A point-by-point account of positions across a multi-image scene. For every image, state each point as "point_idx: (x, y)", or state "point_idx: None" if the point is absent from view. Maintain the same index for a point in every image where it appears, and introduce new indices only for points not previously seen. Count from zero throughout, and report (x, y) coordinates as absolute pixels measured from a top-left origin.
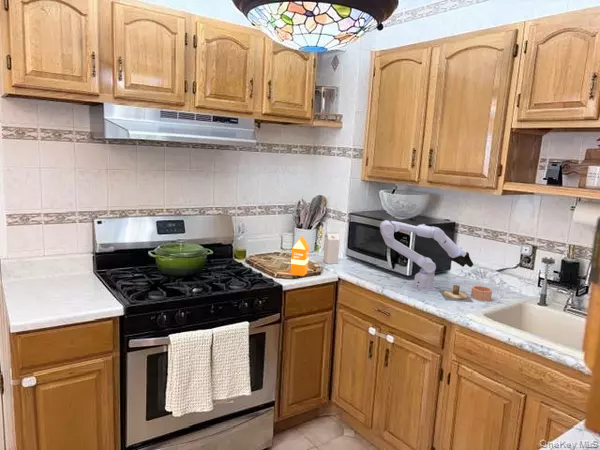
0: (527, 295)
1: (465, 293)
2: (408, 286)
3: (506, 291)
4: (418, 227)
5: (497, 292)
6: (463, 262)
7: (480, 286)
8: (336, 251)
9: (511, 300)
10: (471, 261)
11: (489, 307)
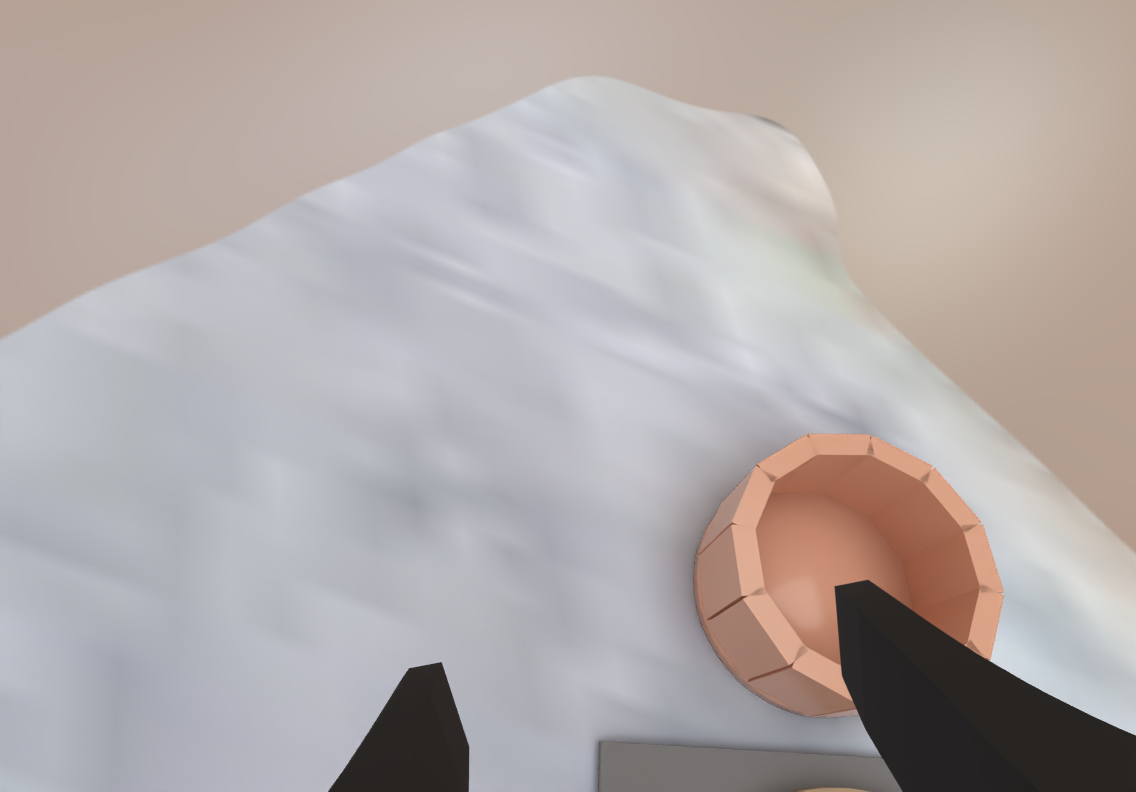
0: (552, 87)
1: (683, 755)
2: None
3: (454, 200)
4: None
5: (507, 301)
6: (435, 742)
7: (754, 537)
8: None
9: (754, 282)
10: (945, 641)
11: (1099, 611)
